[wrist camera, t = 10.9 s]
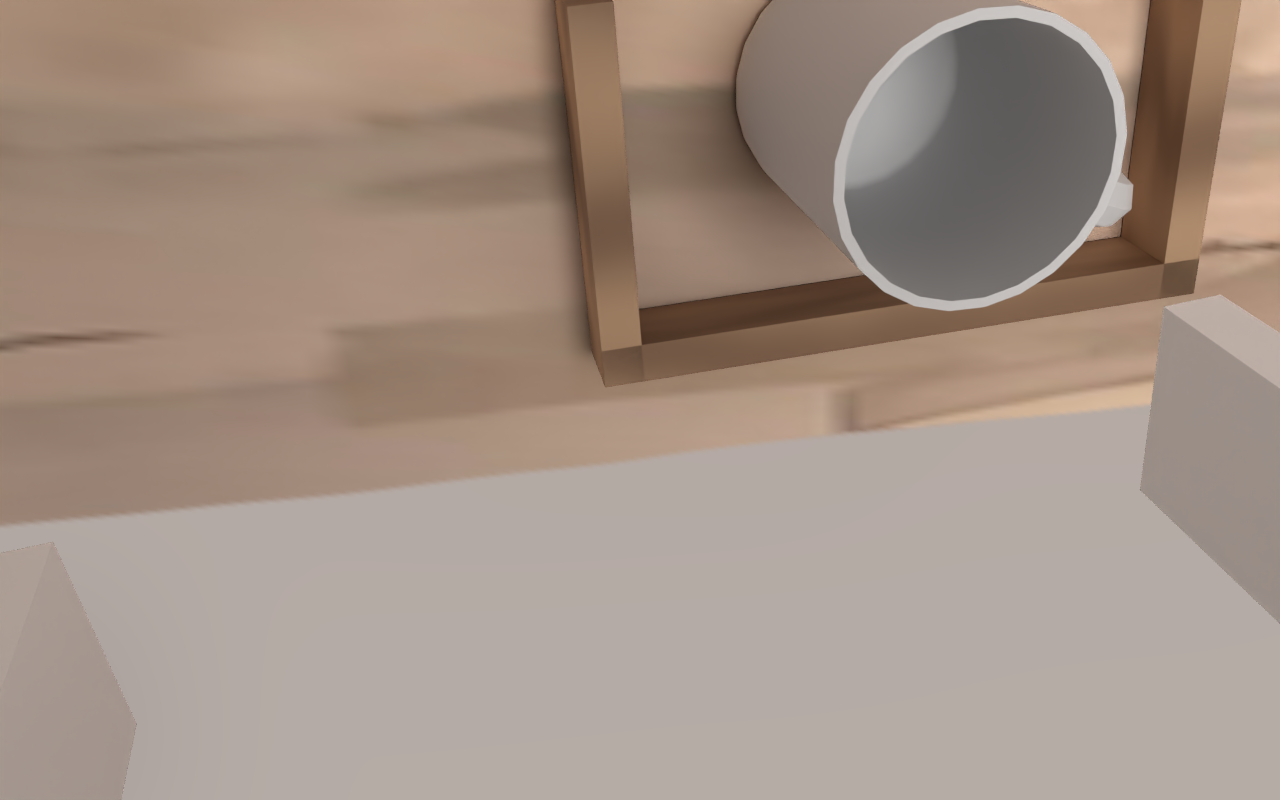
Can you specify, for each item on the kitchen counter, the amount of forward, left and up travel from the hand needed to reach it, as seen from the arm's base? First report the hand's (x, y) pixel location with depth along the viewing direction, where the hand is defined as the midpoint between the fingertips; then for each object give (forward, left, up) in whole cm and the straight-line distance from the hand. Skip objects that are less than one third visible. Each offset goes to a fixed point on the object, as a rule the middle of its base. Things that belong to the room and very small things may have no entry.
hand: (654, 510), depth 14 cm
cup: (+2, +12, -22) cm, 25 cm away
